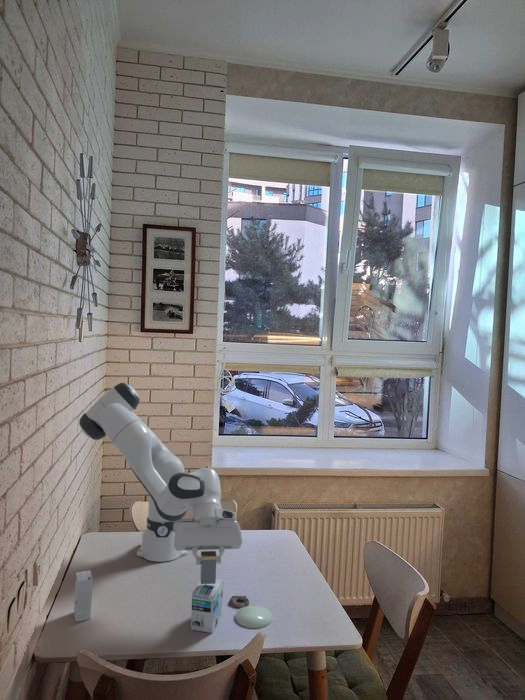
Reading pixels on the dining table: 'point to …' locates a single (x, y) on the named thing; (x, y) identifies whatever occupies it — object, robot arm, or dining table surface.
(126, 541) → the dining table surface
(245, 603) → the donut
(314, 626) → the dining table surface
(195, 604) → the light bulb box
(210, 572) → the tea tin
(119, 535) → the dining table surface
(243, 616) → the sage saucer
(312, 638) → the dining table surface
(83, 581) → the skincare box
